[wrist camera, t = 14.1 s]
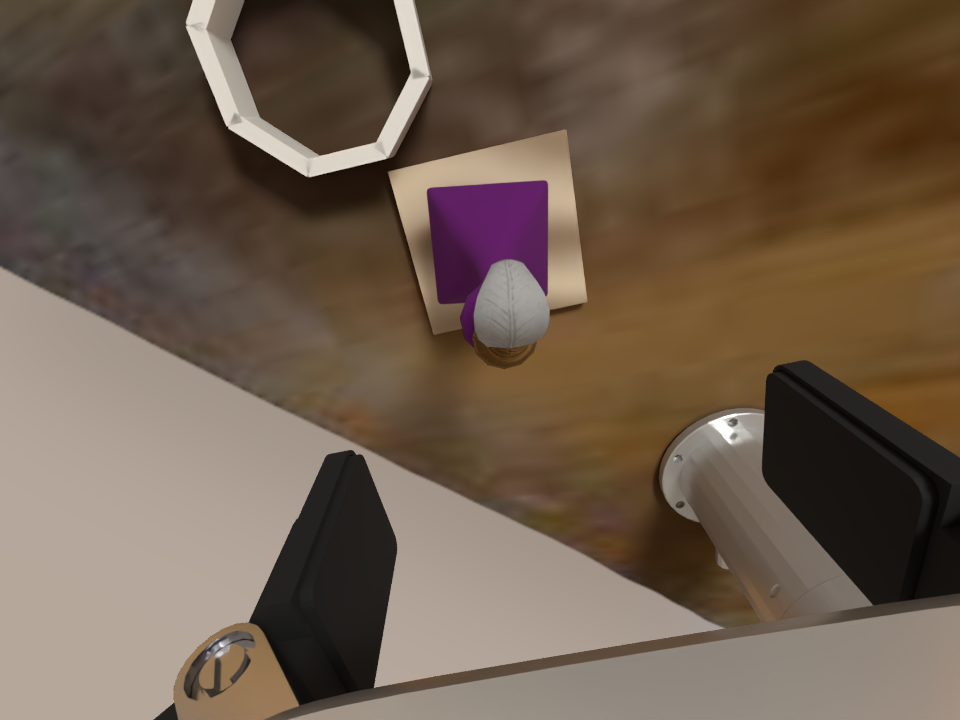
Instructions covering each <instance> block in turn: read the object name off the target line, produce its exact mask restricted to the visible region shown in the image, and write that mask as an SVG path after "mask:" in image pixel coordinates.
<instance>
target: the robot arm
mask: <svg viewBox="0 0 960 720" xmlns="http://www.w3.org/2000/svg"><path fill="white" fill-rule="evenodd" d="M659 483H660V488H661V490H662V492H663V494H664V497H665V498H666V500H667V502H668V503H669V505H670V506H671V507H672V508H673V509H674V510H675V511H676V512H677V513H678V514H680V515H682V516H683V517H685V518H687V519H690V520H693V521H696V522H700V523H701V525H702V526H703V528H704V530H705V531H706V533H707V534H708V536H709V538H710V539H711V541H712V543H713V544H714V546H715V561H716V563H717V564H718V565H719V566H720V567H722V568H724V569H729V570H730V572H731V573H732V575H733V576H734V578H735V580H736V581H737V583H738V585H739V586H740V588H741V589H742V591H743V593H744V594H745V596H746V598H747V599H748V601H749V602H750V604H751V606H752V607H753V609H754V610H755V612H756V614H757V615H758V617H759V619H760V620H761V622H762V623H758V624H752V625H745V626H739V627H732V628H726V629H720V630H714V631H708V632H702V633H695V634H689V635H683V636H677V637H671V638H664V639H658V640H652V641H646V642H639V643H634V644H627V645H621V646H615V647H609V648H603V649H597V650H591V651H584V652H578V653H573V654H566V655H560V656H554V657H548V658H542V659H537V660H530V661H525V662H518V663H513V664H506V665H500V666H495V667H489V668H483V669H477V670H471V671H465V672H459V673H453V674H447V675H441V676H435V677H430V678H425V679H419V680H414V681H409V682H403V683H398V684H393V685H387V686H382V687H376V688H374V683H375V677H376V671H377V665H378V660H379V654H380V648H381V642H382V636H383V630H384V625H385V619H386V612H387V606H388V601H389V595H390V589H391V584H392V578H393V571H394V566H395V560H396V554H397V543H396V538H395V535H394V532H393V530H392V527H391V524H390V522H389V520H388V517H387V514H386V512H385V509H384V507H383V504H382V502H381V499H380V497H379V494H378V492H377V489H376V487H375V484H374V482H373V479H372V477H371V474H370V471H369V469H368V466H367V464H366V461H365V459H364V457H363V456H362V455H360V454H359V455H356V454H355V452H354V451H352V450H348V451H343V452H338V453H333V454H329V455H327V456H326V457H325V459H324V462H323V464H322V466H321V469H320V471H319V473H318V475H317V477H316V480H315V482H314V484H313V486H312V488H311V491H310V493H309V495H308V497H307V500H306V502H305V504H304V506H303V508H302V511H301V513H300V515H299V517H298V519H297V520H296V521H295V523H294V524H293V526H292V528H291V531H290V533H289V535H288V537H287V539H286V542H285V544H284V546H283V548H282V550H281V553H280V555H279V557H278V559H277V561H276V563H275V566H274V568H273V570H272V572H271V574H270V577H269V579H268V581H267V584H266V585H265V588H264V590H263V592H262V594H261V596H260V599H259V601H258V603H257V605H256V607H255V610H254V612H253V614H252V616H251V619H250V621H249V623H239V624H234V625H232V626H229V627H227V628H224V629H222V630H220V631H219V632H217V633H216V634H214V635H212V636H210V637H209V638H208V639H207V640H206V641H205V642H203V643H202V644H201V645H200V646H199V647H198V648H197V649H196V650H195V651H194V652H193V653H192V654H191V656H190V657H189V658H188V659H187V660H186V662H185V664H184V665H183V667H182V668H181V670H180V672H179V673H178V676H177V679H176V682H175V685H174V703H173V704H172V705H171V706H170V707H168V708H167V709H166V710H165V711H164V712H162V713H161V714H160V715H159V716H158V717H156V718H155V719H154V720H960V458H959V457H958V456H956V455H955V454H953V453H952V452H950V451H948V450H947V449H945V448H944V447H942V446H941V445H939V444H937V443H936V442H934V441H933V440H931V439H930V438H928V437H927V436H925V435H923V434H922V433H920V432H919V431H917V430H916V429H914V428H912V427H911V426H909V425H908V424H906V423H905V422H903V421H901V420H900V419H898V418H897V417H895V416H894V415H892V414H891V413H889V412H887V411H886V410H884V409H883V408H881V407H880V406H878V405H876V404H875V403H873V402H872V401H870V400H869V399H867V398H865V397H864V396H862V395H861V394H859V393H858V392H856V391H855V390H853V389H851V388H850V387H848V386H847V385H845V384H844V383H842V382H840V381H839V380H837V379H836V378H834V377H833V376H831V375H829V374H828V373H826V372H825V371H823V370H822V369H820V368H819V367H817V366H815V365H814V364H812V363H811V362H809V361H806V360H804V361H798V362H793V363H788V364H782V365H778V366H776V367H775V368H774V370H773V373H771V374H769V375H768V376H767V379H766V393H765V411H764V410H759V409H754V408H736V409H729V410H724V411H720V412H717V413H714V414H711V415H709V416H707V417H705V418H703V419H700V420H698V421H697V422H695V423H694V424H692V425H691V426H689V427H688V428H686V429H685V430H684V431H683V432H682V433H681V434H680V435H679V436H677V437H676V439H675V440H674V441H673V442H672V444H671V445H670V446H669V447H668V449H667V451H666V453H665V455H664V457H663V459H662V462H661V465H660V469H659Z"/></svg>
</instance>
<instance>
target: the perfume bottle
mask: <svg viewBox="0 0 960 720" xmlns="http://www.w3.org/2000/svg"><path fill="white" fill-rule="evenodd" d="M427 201H428V211H429V221H430V231H431V240H432V250H433V260H434V270H435V279H436V289H437V299H438V302H439V304H457V303H465V304H464V307H463V310H462V313H461V316H460V322H461V326H462V330H463V334H464V338H465V339H466V341H467V342H469V343H470V344H471V345H472V346H473V347H474V348H475V352H476V354H477V355H478V356H479V357H480V358H481V359H482V360H483V361H484V362H485V363H486V364H487V365H490V366H494V367H498V368H502V369H506V368H510V367H514V366H517V365H521V364H522V363H523V362H524V361H525V360H526V359H527V358H528V357H529V356H530V355H531V354H532V353H533V352H534V350H535V347H536V344H537V341H538V340H539V339H540V338H541V337H543V336H544V335H545V332H546V330H547V328H548V325H549V313H550V310H549V306H548V303H547V300H546V296H547V294H548V183H547V181H545V180H538V181H523V182H508V183H493V184H478V185H463V186H447V187H432V188H429V189H427Z"/></svg>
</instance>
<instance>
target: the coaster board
mask: <svg viewBox="0 0 960 720" xmlns="http://www.w3.org/2000/svg"><path fill="white" fill-rule="evenodd" d="M388 174H389V178H390V181H391V185H392V188H393V192H394V195H395V199H396V203H397V206H398V210H399V213H400V217H401V220H402V224H403V227H404V231H405V235H406V238H407V242H408V245H409V249H410V252H411V256H412V259H413V263H414V267H415V270H416V274H417V277H418V281H419V284H420V288H421V291H422V295H423V299H424V302H425V306H426V309H427V313H428V316H429V320H430V324H431V327H432V331H433V334H434V335H436V334H440V333H445V332H450V331H454V330H459V329H462V326H461V322H460V316H461V313H462V310H463V307H464V304H465V303H457V304H439V302H438V299H437V289H436V279H435V270H434V260H433V250H432V240H431V231H430V221H429V211H428V201H427V189H429V188H432V187H447V186H463V185H478V184H493V183H508V182H523V181H538V180H545V181H547V183H548V294H547V296H546V300H547V303H548V306H549V310H552V309H557V308H562V307H566V306H571V305H576V304H580V303H585V302H587V296H586V287H585V279H584V271H583V263H582V255H581V246H580V238H579V230H578V222H577V213H576V205H575V197H574V189H573V181H572V172H571V164H570V156H569V148H568V140H567V131H566V130H561V131H556V132H552V133H548V134H544V135H540V136H535V137H531V138H527V139H523V140H519V141H514V142H510V143H506V144H502V145H498V146H493V147H489V148H485V149H481V150H477V151H472V152H468V153H464V154H460V155H456V156H452V157H447V158H443V159H439V160H435V161H431V162H426V163H422V164H418V165H414V166H410V167H405V168H401V169H397V170H393V171H389V172H388Z"/></svg>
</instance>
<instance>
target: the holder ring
mask: <svg viewBox="0 0 960 720" xmlns="http://www.w3.org/2000/svg"><path fill="white" fill-rule="evenodd" d="M244 1H245V0H193V2H192V5H191V8H190V12H189V15H188V18H187V21H186V24H187V25H189V26H186V28H187V30H188V33H189V35H190V38H191V40H192V43H193V45H194V48H195V50H196V52H197V55H198V57H199V60H200V62H201V65H202V67H203V70H204V72H205V75H206V77H207V80H208V82H209V85H210V87H211V89H212V92H213V94H214V97H215V99H216V102H217V104H218V107H219V109H220V112H221V114H222V117H223V119H224V122H225V124H226V126H229V127H228V129H230V130H232V131H233V132H235V133H237V134H238V135H240V136H241V137H243V138H245V139H246V140H248V141H250V142H251V143H253V144H254V145H256V146H258V147H259V148H261V149H262V150H264V151H266V152H267V153H269V154H271V155H272V156H274V157H275V158H277V159H279V160H280V161H282V162H283V163H285V164H287V165H288V166H290V167H292V168H293V169H295V170H296V171H298V172H300V173H301V174H303V175H305V176H306V177H313V176H317V175H321V174H325V173H329V172H334V171H338V170H342V169H346V168H350V167H354V166H359V165H363V164H367V163H371V162H375V161H379V160H384V159H388V158H391V157H393V156H395V154H396V152H397V151H398V149H399V147H400V145H401V143H402V141H403V139H404V137H405V135H406V133H407V131H408V129H409V128H410V126H411V124H412V122H413V120H414V118H415V116H416V114H417V112H418V110H419V108H420V106H421V104H422V103H423V101H424V99H425V97H426V95H427V93H428V91H429V89H430V87H431V85H432V81H433V80H432V76H431V72H430V67H429V63H428V58H427V54H426V49H425V45H424V40H423V36H422V31H421V27H420V23H419V18H418V14H417V9H416V5H415V0H394V3H395V8H396V12H397V16H398V20H399V24H400V28H401V33H402V37H403V41H404V45H405V49H406V53H407V58H408V62H409V66H410V70H411V74H410V76H409V78H408V80H407V82H406V84H405V86H404V88H403V90H402V92H401V94H400V96H399V98H398V100H397V102H396V104H395V106H394V108H393V110H392V112H391V114H390V116H389V118H388V120H387V122H386V124H385V126H384V128H383V130H382V132H381V134H380V136H379V138H378V140H377V142H376V143H372V144H368V145H364V146H360V147H356V148H352V149H347V150H343V151H339V152H335V153H331V154H327V155H323V156H319V155H318V154H316V153H314V152H313V151H311V150H310V149H308V148H307V147H305V146H303V145H302V144H300V143H299V142H297V141H296V140H294V139H292V138H291V137H289V136H288V135H286V134H285V133H283V132H281V131H280V130H278V129H277V128H275V127H273V126H272V125H270V124H269V123H267V122H266V121H264V120H262V119H261V118H260V117H259V114H258V111H257V109H256V106H255V103H254V101H253V98H252V95H251V93H250V90H249V87H248V85H247V82H246V79H245V77H244V74H243V71H242V69H241V66H240V63H239V61H238V58H237V55H236V53H235V50H234V47H233V45H232V42H231V37H232V35H233V32H234V29H235V26H236V23H237V20H238V18H239V15H240V12H241V9H242V6H243V4H244Z"/></svg>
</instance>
